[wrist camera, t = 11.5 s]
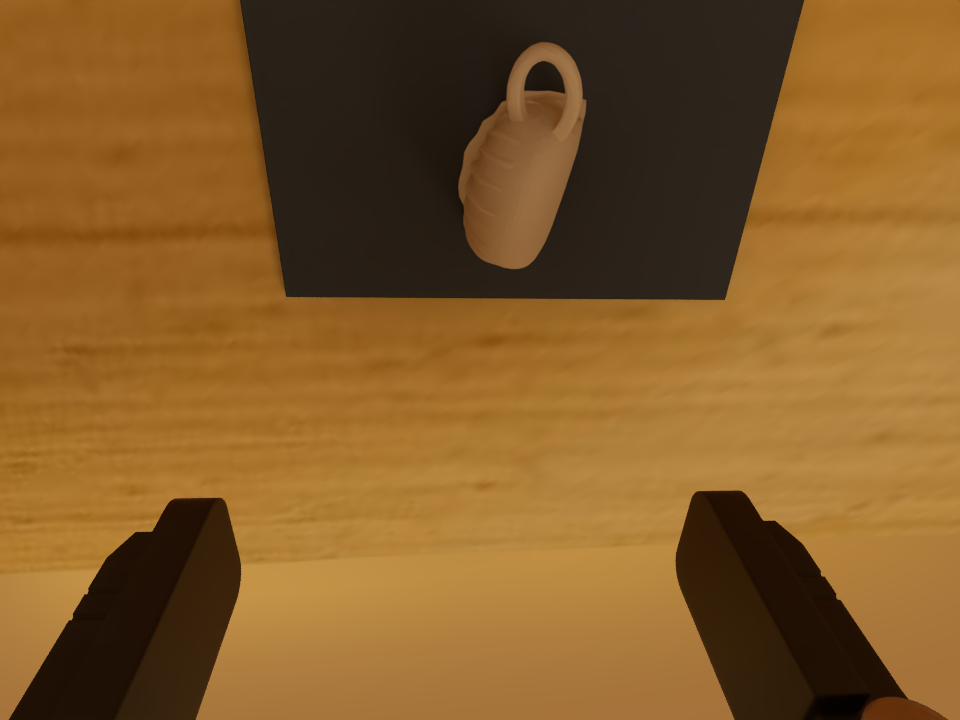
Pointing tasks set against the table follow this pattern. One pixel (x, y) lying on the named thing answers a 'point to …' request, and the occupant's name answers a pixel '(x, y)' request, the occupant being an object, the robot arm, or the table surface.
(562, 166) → the decorative ornament
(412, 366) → the table surface
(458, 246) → the mat
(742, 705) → the robot arm
